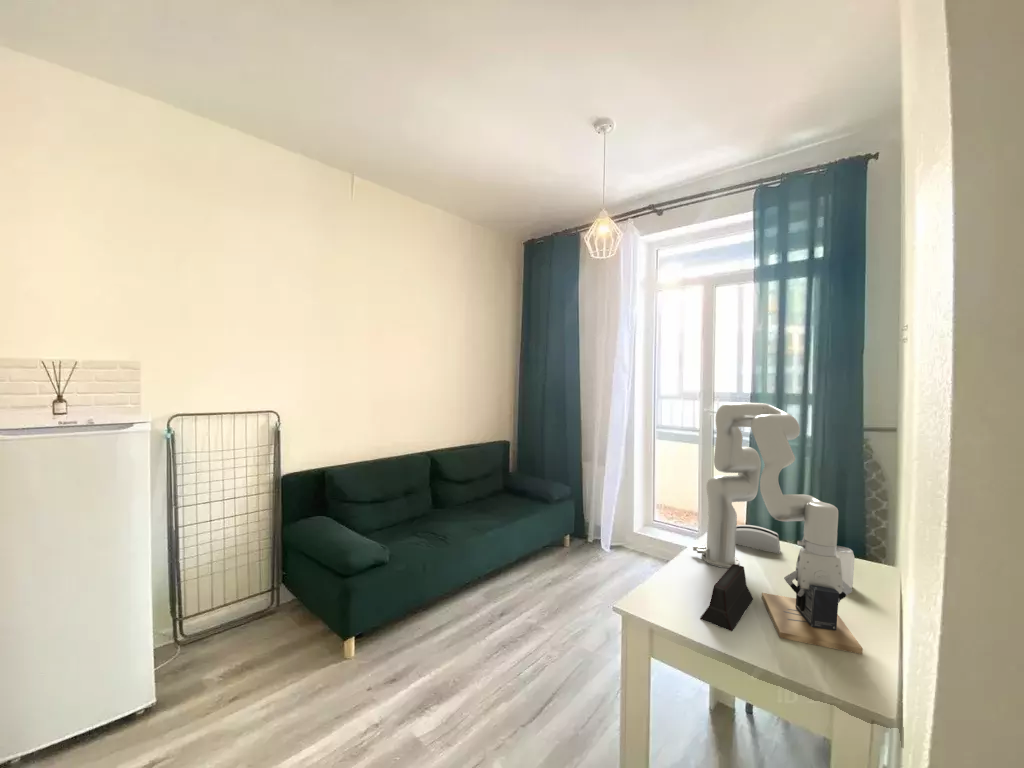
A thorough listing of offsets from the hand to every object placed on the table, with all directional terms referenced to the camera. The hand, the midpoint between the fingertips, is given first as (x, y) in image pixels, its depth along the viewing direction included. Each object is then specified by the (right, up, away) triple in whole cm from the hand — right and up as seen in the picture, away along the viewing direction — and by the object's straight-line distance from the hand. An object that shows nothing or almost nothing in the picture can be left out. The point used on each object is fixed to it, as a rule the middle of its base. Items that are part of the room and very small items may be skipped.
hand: (816, 610), depth 122 cm
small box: (0, -2, 0) cm, 2 cm away
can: (+25, -4, +24) cm, 35 cm away
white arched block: (+13, -3, +54) cm, 55 cm away
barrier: (-21, -3, +7) cm, 22 cm away
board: (-2, -4, +1) cm, 4 cm away
